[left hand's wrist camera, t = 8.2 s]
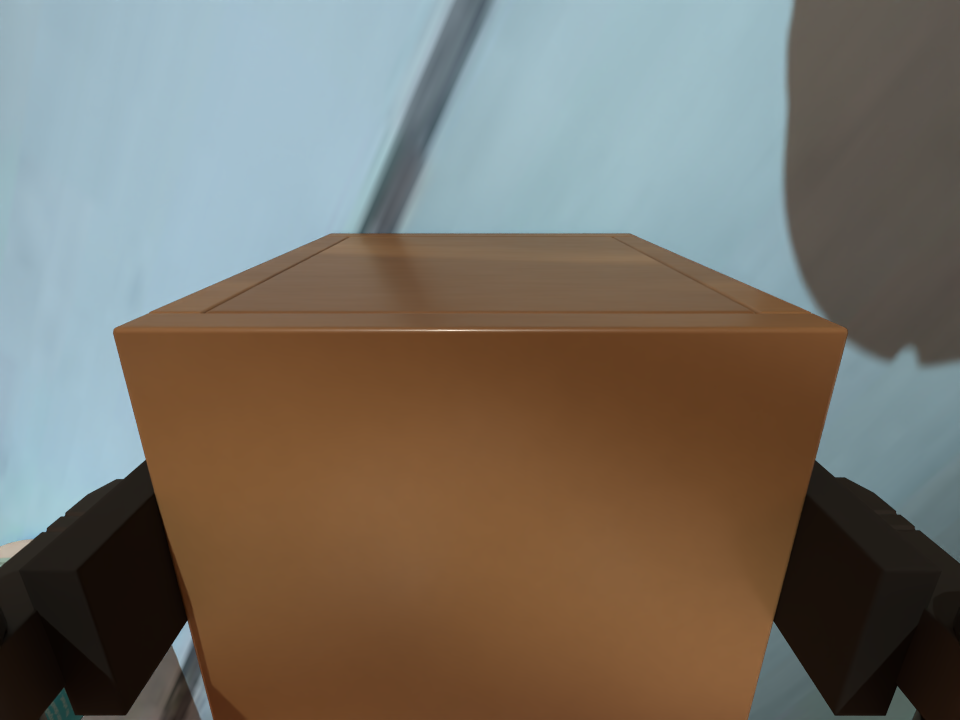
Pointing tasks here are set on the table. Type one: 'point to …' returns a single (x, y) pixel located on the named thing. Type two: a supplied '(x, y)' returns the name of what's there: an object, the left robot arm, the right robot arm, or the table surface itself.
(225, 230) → the table surface
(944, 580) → the left robot arm
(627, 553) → the cabinet
